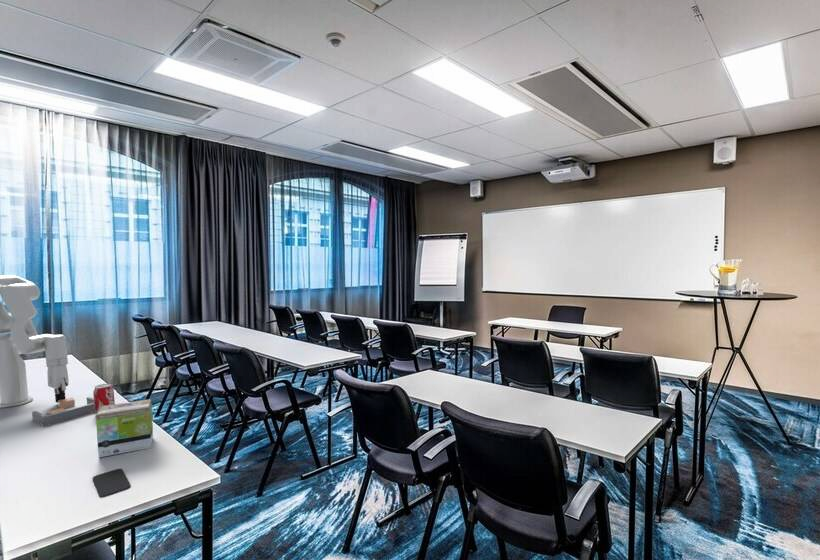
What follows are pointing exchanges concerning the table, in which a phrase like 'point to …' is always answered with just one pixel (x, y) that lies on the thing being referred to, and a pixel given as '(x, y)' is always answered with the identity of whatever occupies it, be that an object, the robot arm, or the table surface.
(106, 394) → the soda can
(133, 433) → the tea box
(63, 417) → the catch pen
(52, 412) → the light orange-brown block
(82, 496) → the table surface
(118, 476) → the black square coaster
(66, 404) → the peach rectangular block
